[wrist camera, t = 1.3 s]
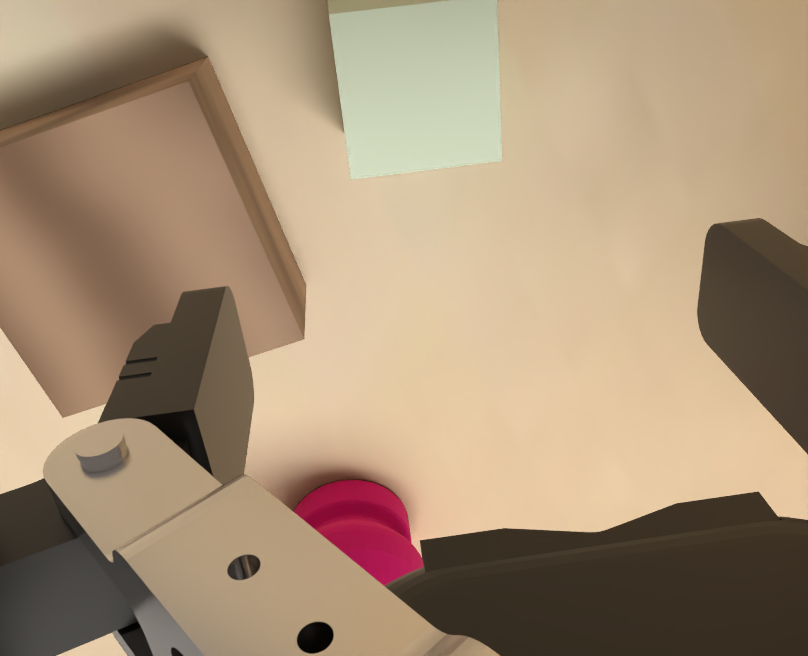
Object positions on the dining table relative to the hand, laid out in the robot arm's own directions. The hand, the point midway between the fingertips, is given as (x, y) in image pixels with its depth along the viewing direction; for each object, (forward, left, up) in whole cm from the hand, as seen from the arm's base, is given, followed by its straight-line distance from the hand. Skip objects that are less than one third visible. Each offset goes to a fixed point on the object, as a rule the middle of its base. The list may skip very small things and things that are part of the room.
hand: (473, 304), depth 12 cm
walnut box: (+10, +4, -19) cm, 22 cm away
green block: (-1, -1, -18) cm, 18 cm away
